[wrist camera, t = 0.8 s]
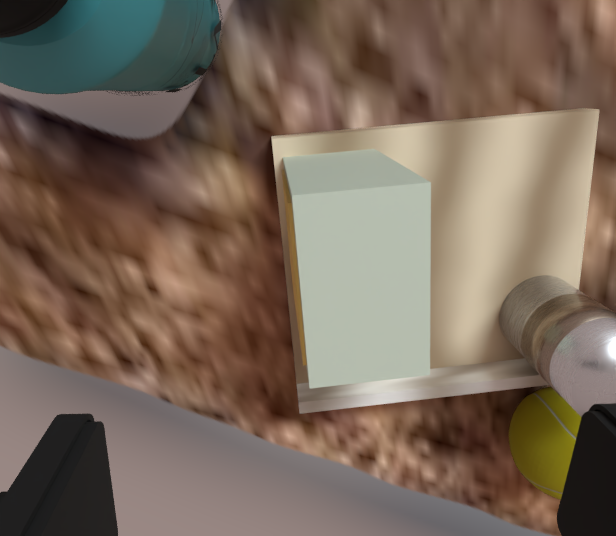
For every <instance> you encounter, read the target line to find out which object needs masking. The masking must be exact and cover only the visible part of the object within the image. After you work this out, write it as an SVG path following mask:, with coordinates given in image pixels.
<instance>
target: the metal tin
mask: <svg viewBox="0 0 616 536" xmlns="http://www.w3.org/2000/svg"><path fill="white" fill-rule="evenodd" d="M499 324H500V328H501V331H502V333H503V334H504V336H505V337H506V338H507V339H508V340H509V341H510V343H511V344H512V345H513V346H514V347H515V348H516V349H517V350H518V351H519V352H520V353H521V354H522V355H523V356H524V357H525V359H526V360H527V362H528V363H529V364H530V365H531V366H532V367H533V368H534V369H535V370H536V371H537V372H538V373H539V374H540V376H541V377H542V378H543V379H544V380H545V381H546V382H547V383H548V384H549V385H550V386H551V387H552V388H553V389H554V390H555V391H556V392H557V393H558V394H559V395H560V396H561V397H562V398H564V400H565V401H566V402H567V403H568V404H569V405H570V406H571V407H572V408H573V409H574V410H575V411H576V412H577V413H578V414H579V415H580V416H581V417H582V415H583V414H584V413H585V412H588V411H589V409H590V407H591V406H592V405H594V404H611V403H616V313H614V312H613V311H611V310H610V309H608V308H607V307H605V306H604V305H602V304H601V303H599V302H598V301H596V300H595V299H593V298H591V297H589V296H587V295H585V294H584V293H582V292H581V291H579V290H578V289H576V288H575V287H573V286H572V285H570V284H569V283H567V282H566V281H564V280H562V279H560V278H558V277H555V276H548V275H542V276H536V277H532V278H529V279H527V280H525V281H523V282H521V283H520V284H518V285H517V286H516V287H515V288H513V289H512V290H511V291H510V293H509V294H508V295H507V296H506V298H505V300H504V301H503V303H502V306H501V309H500V313H499Z"/></svg>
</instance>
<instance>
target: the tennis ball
mask: <svg viewBox="0 0 616 536" xmlns="http://www.w3.org/2000/svg"><path fill="white" fill-rule="evenodd" d="M581 418H582V417H581V416H580V415H579V414H578V413H577V412H576V411H575V410H574V409H573V408H572V407H571V406H570V405H569V404H568V403H567V402H566V401H565V400H564V398H562V397H561V396H560V395H559V394H558V393H557V392H556V391H555V390H554V389H553V388H552V387H547V388H543V389H540V390H537V391H535V392H534V393H532V394H530V395H528V396H526V397H525V398H524V399H523V400H522V401H521V403H520V404H519V405H518V407H517V408H516V410H515V412H514V414H513V416H512V419H511V422H510V427H509V445H510V450H511V454H512V457H513V460H514V462H515V464H516V466H517V468H518V469H519V471H520V472H521V474H522V475H523V476H524V477H525V478H526V479H527V480H528V481H529V482H530V483H531V484H533V485H534V486H535V487H537V488H538V489H539V490H541V491H542V492H544V493H546V494H548V495H550V496H552V497H554V498H557V499H560V500H561V497H562V493H563V489H564V485H565V481H566V477H567V473H568V469H569V465H570V461H571V457H572V453H573V449H574V445H575V441H576V437H577V433H578V429H579V425H580V421H581Z"/></svg>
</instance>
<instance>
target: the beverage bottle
mask: <svg viewBox="0 0 616 536" xmlns="http://www.w3.org/2000/svg"><path fill="white" fill-rule="evenodd" d="M220 30H221V20H220V19H219V13H218V7H217V4H216V1H215V0H0V82H1V83H3V84H6V85H8V86H11V87H14V88H18V89H21V90H25V91H30V92H36V93H42V94H43V93H44V94H67V93H77V92H82V91H89V90H90V91H91V90H93V91H95V90H112V91H113V90H114V91H115V90H116V91H129V92H130V91H165V90H169V91H166V92H176V91H179V90H181V89H178V88H181V87H183V86H186V85H188V84H189V83H191V82H193V81H194V80H196V79H197V78H198V77H200V76H202V75H203V74H204V73H205V72H206V70H207V68H209V67H208V66H209V65H211V64H210V63H212V62H211V61H213V59H214V57H215V55H216V54H215V53H216V52H217V51H216V50H217V49H218V46H219V45H218V43H219V36H220ZM221 36H223V35H221ZM221 43H222V42H221ZM218 50H219V49H218ZM216 56H218V55H216ZM212 64H214V63H212ZM212 66H213V65H212ZM210 67H211V66H210ZM209 69H211V68H209ZM209 69H208V70H209ZM208 70H207V71H208ZM207 73H208V72H207ZM205 74H206V73H205ZM205 74H204V75H205ZM204 75H203V76H204ZM200 79H201V78H200ZM200 79H199V81H200Z"/></svg>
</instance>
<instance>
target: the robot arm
mask: <svg viewBox="0 0 616 536" xmlns="http://www.w3.org/2000/svg"><path fill="white" fill-rule="evenodd" d="M557 523H558V528H559V530H560V533H561V535H562V536H616V403H611V404H594V405H592V406H591V407H590V409H589V411H588V412H585V413H584V414H583V415H582V418H581V421H580V425H579V429H578V433H577V437H576V441H575V445H574V449H573V453H572V457H571V461H570V465H569V469H568V473H567V477H566V481H565V485H564V489H563V493H562V497H561V501H560V505H559V509H558V513H557ZM0 536H118V528H117V521H116V513H115V505H114V498H113V490H112V483H111V476H110V468H109V461H108V453H107V446H106V438H105V430H104V425H103V423H102V422H94V418H93V416H92V415H91V414H60V415H57V416H56V417H55V419H54V420H53V421H52V423H51V425H50V426H49V428H48V429H47V431H46V432H45V434H44V435H43V437H42V439H41V440H40V442H39V443H38V445H37V447H36V448H35V449H34V451H33V453H32V454H31V456H30V457H29V459H28V460H27V462H26V463H25V465H24V467H23V468H22V470H21V472H20V473H19V475H18V476H17V477H16V479H15V481H14V482H13V484H12V485H11V487H10V488H9V490H8V491H7V492H1V493H0Z"/></svg>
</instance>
